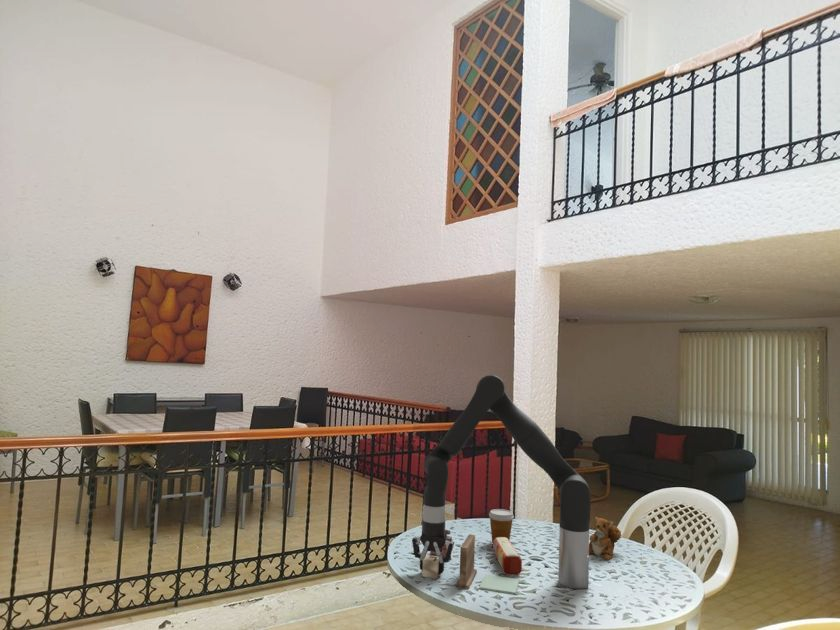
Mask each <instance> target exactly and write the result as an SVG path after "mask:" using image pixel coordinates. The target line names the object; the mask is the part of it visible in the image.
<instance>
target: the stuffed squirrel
mask: <svg viewBox="0 0 840 630" xmlns="http://www.w3.org/2000/svg"><path fill="white" fill-rule="evenodd" d="M613 524H614V522H613V521H608V520H607V519H605V518H603V517H602V518H601V517H598V516H596V517H595V523H594V526H592V527H591V529H592V531H594V530H595V531H594V533H593V534H591V535H589V555H595V556H598V557H602V558H603V559H604V560H606V561H607V560H608V561H609V560H611V559H613V557H614V554H613V553H614V551H615V550H614V549H615V546H616V543H618V541H620V539H622V531H621V530H620V529H619V528H618V527H617V526H615V525H613Z"/></svg>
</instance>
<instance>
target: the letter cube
mask: <svg viewBox="0 0 840 630" xmlns="http://www.w3.org/2000/svg"><path fill="white" fill-rule="evenodd" d="M421 573H422V575H421V576H422V577H424V578H425V577H426V578H430V579H431V578H432V579H438V578H439V577H440V575H439V559H438V557H437V556H430V554H426V556H425V558H424V559H423V569H422V570H421Z"/></svg>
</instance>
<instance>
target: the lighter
mask: <svg viewBox="0 0 840 630" xmlns="http://www.w3.org/2000/svg"><path fill="white" fill-rule="evenodd" d="M450 535H451V530H450V529H446V528H445V538H446V540H447V541H449V542H451V541H453V537H452V536H450ZM442 549H443V555H444V557H446V553H447V550H448V549H447V548H446V544H444V545H443V547H442ZM429 552H430V553H429V555H430V556H437V553H436V552H433V551H429ZM437 557H438V556H437ZM451 560H452V556H451V557H450V559H449V561H451ZM449 561H448V562H449Z"/></svg>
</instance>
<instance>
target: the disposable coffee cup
mask: <svg viewBox="0 0 840 630" xmlns="http://www.w3.org/2000/svg"><path fill="white" fill-rule="evenodd" d="M488 516H489V521H490V522H489V523H490V534H491V543H493V542H494V539H495V538H498V537H506V538H508V539H509V541H510V539H511V533H512V526H513V520H514V518H515V516H514V513H513V512H512V510H507V509H502V508H496V509H491V510H490V512H489V513H488Z"/></svg>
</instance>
